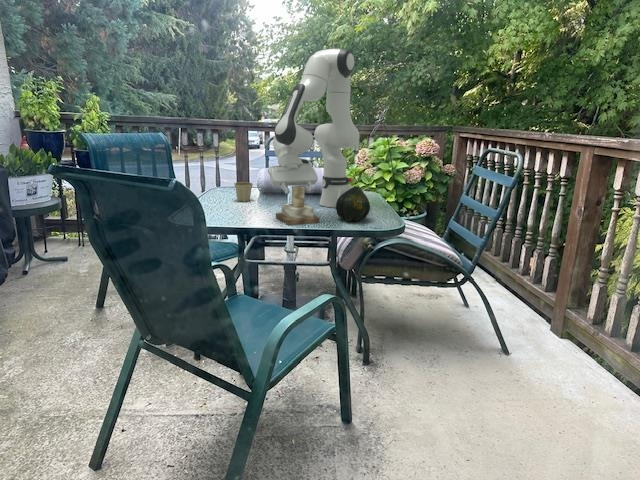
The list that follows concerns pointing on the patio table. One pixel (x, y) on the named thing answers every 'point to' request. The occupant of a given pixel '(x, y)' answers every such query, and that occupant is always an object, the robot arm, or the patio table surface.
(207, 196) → the patio table surface
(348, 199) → the squash
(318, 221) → the plinth
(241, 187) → the flower pot
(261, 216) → the patio table surface
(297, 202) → the birch block
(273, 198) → the patio table surface
